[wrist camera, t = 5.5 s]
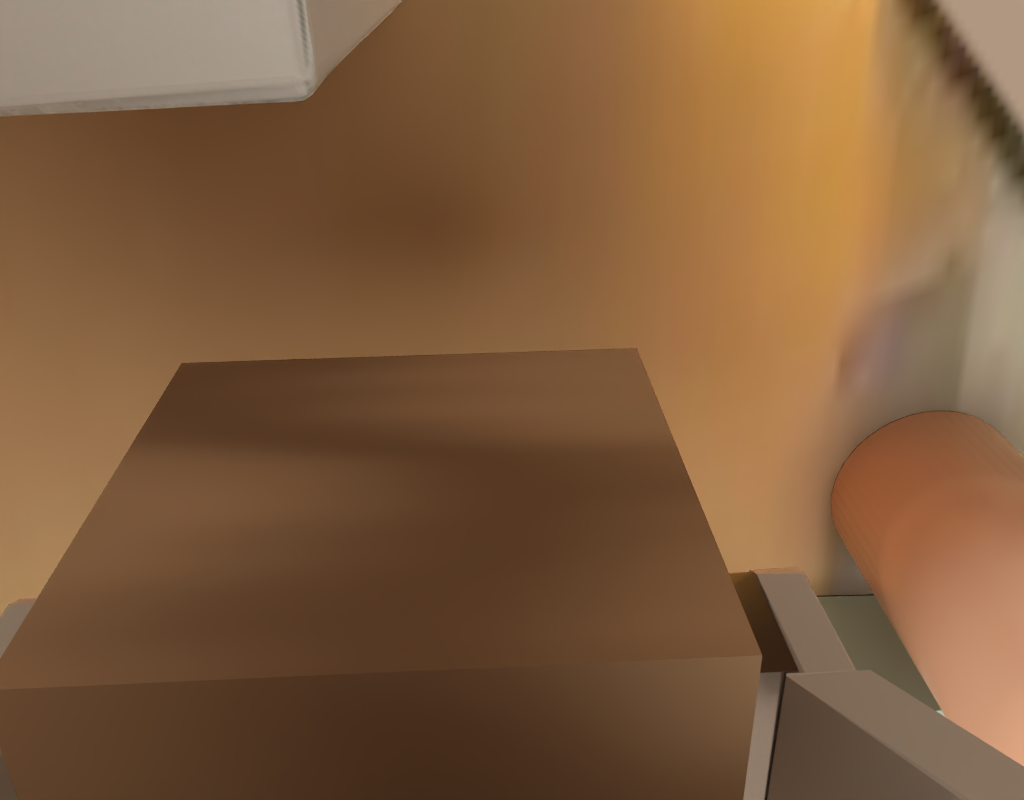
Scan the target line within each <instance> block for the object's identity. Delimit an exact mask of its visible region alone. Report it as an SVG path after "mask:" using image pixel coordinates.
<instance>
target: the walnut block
mask: <svg viewBox="0 0 1024 800" xmlns="http://www.w3.org/2000/svg"><path fill="white" fill-rule="evenodd" d="M761 662H762V653H761V651H760V648H759V646H758V643H757V641H756V639H755V636H754V634H753V631H752V629H751V626H750V624H749V622H748V619H747V617H746V614H745V612H744V609H743V607H742V604H741V602H740V600H739V597H738V595H737V592H736V590H735V587H734V585H733V583H732V580H731V578H730V575H729V573H728V570H727V568H726V565H725V563H724V561H723V558H722V556H721V553H720V551H719V548H718V546H717V543H716V541H715V539H714V536H713V534H712V531H711V529H710V526H709V524H708V522H707V519H706V517H705V514H704V512H703V509H702V507H701V504H700V502H699V500H698V497H697V495H696V492H695V490H694V487H693V485H692V483H691V480H690V478H689V475H688V473H687V470H686V468H685V465H684V463H683V461H682V458H681V456H680V453H679V451H678V448H677V446H676V443H675V441H674V439H673V436H672V434H671V431H670V429H669V426H668V424H667V422H666V419H665V417H664V414H663V412H662V409H661V407H660V404H659V402H658V400H657V397H656V395H655V392H654V390H653V387H652V385H651V382H650V380H649V378H648V375H647V373H646V370H645V368H644V365H643V363H642V361H641V358H640V356H639V353H638V351H637V348H630V349H599V350H568V351H538V352H507V353H476V354H446V355H415V356H384V357H354V358H323V359H292V360H262V361H231V362H200V363H182V364H181V365H180V367H179V369H178V370H177V372H176V373H175V375H174V377H173V378H172V380H171V382H170V383H169V385H168V386H167V388H166V390H165V391H164V393H163V395H162V396H161V398H160V399H159V401H158V403H157V404H156V406H155V408H154V409H153V411H152V412H151V414H150V416H149V417H148V419H147V421H146V422H145V424H144V426H143V427H142V429H141V430H140V432H139V434H138V435H137V437H136V439H135V440H134V442H133V443H132V445H131V447H130V448H129V450H128V452H127V453H126V455H125V456H124V458H123V460H122V461H121V463H120V465H119V466H118V468H117V469H116V471H115V473H114V474H113V476H112V478H111V479H110V481H109V482H108V484H107V486H106V487H105V489H104V491H103V492H102V494H101V495H100V497H99V499H98V500H97V502H96V504H95V505H94V507H93V508H92V510H91V512H90V513H89V515H88V517H87V518H86V520H85V521H84V523H83V525H82V526H81V528H80V530H79V531H78V533H77V534H76V536H75V538H74V539H73V541H72V543H71V544H70V546H69V548H68V549H67V551H66V552H65V554H64V556H63V557H62V559H61V561H60V562H59V564H58V565H57V567H56V569H55V570H54V572H53V574H52V575H51V577H50V578H49V580H48V582H47V583H46V585H45V587H44V588H43V590H42V591H41V593H40V595H39V596H38V598H37V600H36V601H35V603H34V604H33V606H32V608H31V609H30V611H29V613H28V614H27V616H26V617H25V619H24V621H23V622H22V624H21V626H20V627H19V629H18V630H17V632H16V634H15V635H14V637H13V639H12V640H11V642H10V643H9V645H8V647H7V648H6V650H5V652H4V653H3V655H2V657H1V658H0V749H1V751H2V754H3V757H4V760H5V763H6V766H7V769H8V772H9V775H10V778H11V781H12V784H13V786H14V789H15V792H16V795H17V798H18V800H743V798H744V790H745V783H746V775H747V768H748V760H749V753H750V745H751V737H752V730H753V722H754V715H755V707H756V700H757V692H758V684H759V677H760V669H761Z"/></svg>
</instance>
